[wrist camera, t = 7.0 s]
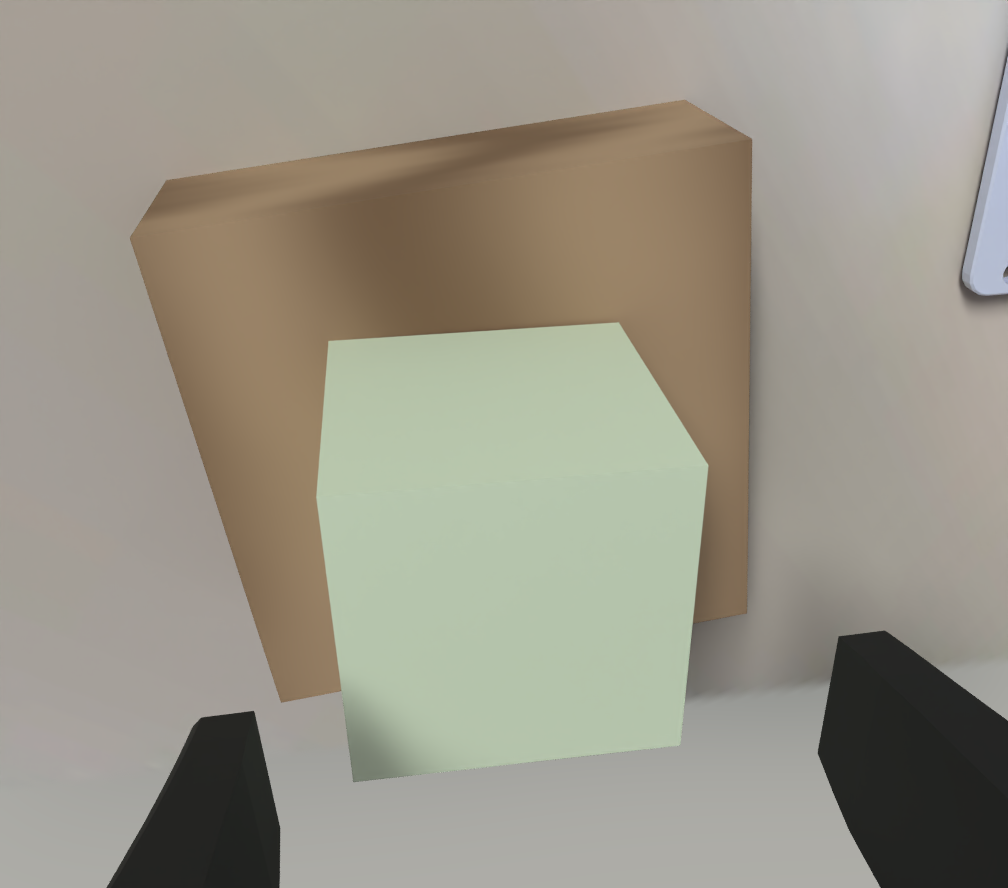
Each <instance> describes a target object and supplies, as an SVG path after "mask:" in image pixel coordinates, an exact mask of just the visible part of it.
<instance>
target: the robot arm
mask: <svg viewBox="0 0 1008 888" xmlns="http://www.w3.org/2000/svg"><path fill="white" fill-rule="evenodd" d="M1007 266H1008V58H1007V63H1006V67H1005V72H1004V77H1003V82H1002V86H1001V91H1000V96H999V101H998V105H997V110H996V115H995V119H994V124H993V129H992V134H991V138H990V143H989V148H988V153H987V157H986V162H985V167H984V171H983V176H982V181H981V186H980V190H979V195H978V200H977V205H976V209H975V214H974V219H973V223H972V228H971V233H970V238H969V242H968V247H967V252H966V257H965V261H964V266H963V271H962V280H963V282H964V284H965V286H966V287H967V288H969V289H970V290H972V291H973V292H975V293H977V294H978V295H984V296H991V295H1002V294H1008V276H1007V277H1004V278H1003V273H1004V271H1005V269H1006V267H1007ZM818 755H819V757H820V760H821V763H822V765H823V768H824V770H825V773H826V775H827V778H828V780H829V783H830V786H831V788H832V791H833V793H834V796H835V798H836V800H837V803H838V805H839V808H840V810H841V812H842V815H843V817H844V819H845V822H846V824H847V826H848V829H849V831H850V833H851V834H852V836H853V838H854V840H855V842H856V844H857V846H858V848H859V849H860V851H861V853H862V855H863V857H864V858H865V860H866V862H867V864H868V865H869V867H870V869H871V871H872V873H873V875H874V877H875V878H876V880H877V882H878V884H879V886H880V887H881V888H1008V721H1007V720H1006V719H1005V718H1003V717H1002V716H1001V715H999V714H998V713H996V712H995V711H994V710H992V709H991V708H989V707H988V706H987V705H985V704H984V703H983V702H981V701H980V700H979V699H977V698H976V697H975V696H973V695H972V694H971V693H969V692H968V691H967V690H965V689H963V688H962V687H961V686H960V685H958V684H957V683H956V682H954V681H953V680H952V679H950V678H949V677H948V676H946V675H945V674H944V673H942V672H941V671H940V670H938V669H937V668H936V667H934V666H933V665H932V664H930V663H929V662H928V661H926V660H925V659H924V658H922V657H921V656H920V655H918V654H917V653H915V652H914V651H913V650H911V649H910V648H909V647H907V646H906V645H904V644H903V643H902V642H900V641H899V640H898V639H896V638H895V637H893V636H892V635H890V634H889V633H888V632H886V631H878V632H870V633H863V634H855V635H847V636H839V638H838V643H837V649H836V654H835V660H834V665H833V671H832V676H831V682H830V688H829V693H828V699H827V705H826V710H825V715H824V721H823V726H822V732H821V738H820V743H819V748H818ZM279 881H280V825H279V821H278V816H277V812H276V807H275V803H274V799H273V794H272V789H271V785H270V780H269V776H268V771H267V767H266V762H265V758H264V753H263V749H262V744H261V740H260V735H259V731H258V726H257V722H256V717H255V713H254V711H250V712H242V713H234V714H226V715H218V716H210V717H203V718H200V720H199V721H198V722H197V723H196V724H195V725H194V726H193V728H192V730H191V732H190V734H189V736H188V738H187V740H186V743H185V745H184V747H183V749H182V751H181V753H180V755H179V757H178V759H177V761H176V763H175V765H174V767H173V769H172V771H171V773H170V775H169V777H168V779H167V781H166V783H165V785H164V787H163V789H162V791H161V793H160V794H159V796H158V798H157V800H156V802H155V804H154V806H153V807H152V809H151V811H150V813H149V815H148V817H147V819H146V821H145V822H144V824H143V826H142V828H141V829H140V831H139V833H138V835H137V836H136V838H135V840H134V841H133V843H132V845H131V847H130V848H129V850H128V852H127V854H126V855H125V857H124V859H123V861H122V862H121V864H120V866H119V867H118V869H117V871H116V873H115V874H114V876H113V878H112V880H111V881H110V883H109V885H108V886H107V888H279Z"/></svg>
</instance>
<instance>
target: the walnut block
mask: <svg viewBox="0 0 1008 888" xmlns="http://www.w3.org/2000/svg"><path fill="white" fill-rule="evenodd" d="M751 194H752V139H751V138H749V137H748V136H746V135H744V134H742V133H741V132H739V131H737V130H736V129H734V128H732V127H730V126H729V125H727V124H725V123H724V122H722V121H720V120H718V119H717V118H715V117H713V116H712V115H710V114H708V113H707V112H705V111H703V110H701V109H700V108H698V107H696V106H695V105H693V104H691V103H689V102H688V101H686V100H681V101H674V102H668V103H661V104H655V105H649V106H642V107H636V108H629V109H623V110H616V111H610V112H604V113H597V114H591V115H584V116H578V117H571V118H565V119H558V120H552V121H546V122H539V123H533V124H526V125H520V126H513V127H507V128H501V129H494V130H488V131H481V132H475V133H468V134H462V135H456V136H449V137H443V138H436V139H430V140H423V141H417V142H410V143H404V144H398V145H391V146H385V147H378V148H372V149H365V150H359V151H353V152H346V153H340V154H333V155H327V156H320V157H314V158H307V159H301V160H295V161H288V162H282V163H275V164H269V165H262V166H256V167H250V168H243V169H237V170H230V171H224V172H217V173H211V174H205V175H198V176H192V177H185V178H179V179H172V180H166V182H165V184H164V185H163V187H162V188H161V190H160V191H159V193H158V195H157V196H156V198H155V199H154V201H153V202H152V204H151V206H150V207H149V209H148V210H147V212H146V213H145V215H144V216H143V218H142V220H141V221H140V223H139V224H138V226H137V227H136V229H135V231H134V232H133V234H132V235H131V237H130V240H131V243H132V246H133V249H134V252H135V255H136V258H137V261H138V265H139V268H140V271H141V274H142V277H143V280H144V283H145V286H146V289H147V292H148V295H149V298H150V301H151V304H152V308H153V311H154V314H155V317H156V320H157V323H158V326H159V329H160V332H161V335H162V338H163V341H164V344H165V347H166V351H167V354H168V357H169V360H170V363H171V366H172V369H173V372H174V375H175V378H176V381H177V384H178V387H179V390H180V394H181V397H182V400H183V403H184V406H185V409H186V412H187V415H188V418H189V421H190V424H191V427H192V430H193V433H194V437H195V440H196V443H197V446H198V449H199V452H200V455H201V458H202V461H203V464H204V467H205V470H206V473H207V476H208V480H209V483H210V486H211V489H212V492H213V495H214V498H215V501H216V504H217V507H218V510H219V513H220V516H221V519H222V523H223V526H224V529H225V532H226V535H227V538H228V541H229V544H230V547H231V550H232V553H233V556H234V559H235V562H236V566H237V569H238V572H239V575H240V578H241V581H242V584H243V587H244V590H245V593H246V596H247V599H248V602H249V605H250V609H251V612H252V615H253V618H254V621H255V624H256V627H257V630H258V633H259V636H260V639H261V642H262V645H263V648H264V652H265V655H266V658H267V661H268V664H269V667H270V670H271V673H272V676H273V679H274V682H275V685H276V688H277V691H278V695H279V698H280V701H281V703H282V702H287V701H292V700H297V699H303V698H308V697H313V696H318V695H323V694H329V693H334V692H339V691H341V683H340V675H339V668H338V660H337V652H336V645H335V637H334V629H333V622H332V614H331V606H330V599H329V591H328V583H327V576H326V568H325V560H324V553H323V545H322V537H321V530H320V522H319V514H318V507H317V499H316V494H317V482H318V469H319V456H320V443H321V430H322V418H323V405H324V392H325V379H326V367H327V354H328V341H336V340H351V339H367V338H383V337H398V336H414V335H429V334H445V333H461V332H476V331H492V330H507V329H523V328H539V327H554V326H570V325H585V324H601V323H616V322H619V324H620V325H621V327H622V328H623V330H624V332H625V333H626V335H627V336H628V338H629V340H630V341H631V343H632V344H633V346H634V347H635V349H636V351H637V352H638V354H639V355H640V357H641V359H642V360H643V362H644V363H645V365H646V367H647V368H648V370H649V371H650V373H651V375H652V376H653V378H654V379H655V381H656V383H657V384H658V386H659V387H660V389H661V391H662V392H663V394H664V395H665V397H666V399H667V400H668V402H669V403H670V405H671V406H672V408H673V410H674V411H675V413H676V414H677V416H678V418H679V419H680V421H681V422H682V424H683V426H684V427H685V429H686V430H687V432H688V434H689V435H690V437H691V438H692V440H693V442H694V443H695V445H696V446H697V448H698V450H699V451H700V453H701V454H702V456H703V458H704V459H705V461H706V462H707V464H708V476H707V485H706V495H705V505H704V515H703V525H702V535H701V545H700V555H699V565H698V575H697V585H696V595H695V605H694V614H693V624H694V623H699V622H704V621H709V620H714V619H720V618H725V617H730V616H735V615H740V614H746V613H747V558H748V467H749V376H750V285H751Z"/></svg>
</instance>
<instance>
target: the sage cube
mask: <svg viewBox="0 0 1008 888" xmlns="http://www.w3.org/2000/svg"><path fill="white" fill-rule="evenodd" d="M707 476H708V464H707V462H706V461H705V459H704V458H703V456H702V454H701V453H700V451H699V450H698V448H697V446H696V445H695V443H694V442H693V440H692V438H691V437H690V435H689V434H688V432H687V430H686V429H685V427H684V426H683V424H682V422H681V421H680V419H679V418H678V416H677V414H676V413H675V411H674V410H673V408H672V406H671V405H670V403H669V402H668V400H667V399H666V397H665V395H664V394H663V392H662V391H661V389H660V387H659V386H658V384H657V383H656V381H655V379H654V378H653V376H652V375H651V373H650V371H649V370H648V368H647V367H646V365H645V363H644V362H643V360H642V359H641V357H640V355H639V354H638V352H637V351H636V349H635V347H634V346H633V344H632V343H631V341H630V340H629V338H628V336H627V335H626V333H625V332H624V330H623V328H622V327H621V325H620V324H619V322H616V323H601V324H585V325H570V326H554V327H539V328H523V329H507V330H492V331H476V332H461V333H445V334H429V335H414V336H398V337H383V338H367V339H351V340H336V341H328V354H327V367H326V379H325V392H324V405H323V418H322V430H321V443H320V456H319V469H318V482H317V494H316V499H317V507H318V514H319V522H320V530H321V537H322V545H323V553H324V560H325V568H326V576H327V583H328V591H329V599H330V606H331V614H332V622H333V629H334V637H335V645H336V652H337V660H338V668H339V675H340V683H341V691H342V698H343V706H344V714H345V721H346V729H347V737H348V744H349V752H350V760H351V767H352V775H353V782H359V781H368V780H376V779H385V778H395V777H404V776H412V775H421V774H430V773H439V772H448V771H457V770H466V769H475V768H484V767H492V766H501V765H510V764H519V763H529V762H537V761H547V760H554V759H555V760H556V759H565V758H574V757H582V756H591V755H600V754H609V753H618V752H627V751H636V750H645V749H654V748H662V747H672V746H680V743H681V733H682V723H683V713H684V704H685V694H686V684H687V674H688V664H689V654H690V644H691V634H692V624H693V614H694V605H695V595H696V585H697V575H698V565H699V555H700V545H701V535H702V525H703V515H704V505H705V495H706V485H707Z"/></svg>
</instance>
